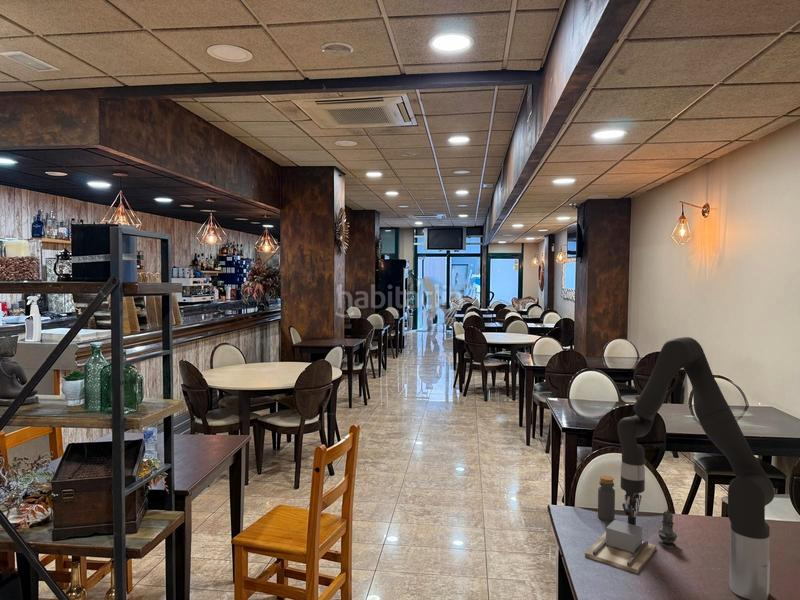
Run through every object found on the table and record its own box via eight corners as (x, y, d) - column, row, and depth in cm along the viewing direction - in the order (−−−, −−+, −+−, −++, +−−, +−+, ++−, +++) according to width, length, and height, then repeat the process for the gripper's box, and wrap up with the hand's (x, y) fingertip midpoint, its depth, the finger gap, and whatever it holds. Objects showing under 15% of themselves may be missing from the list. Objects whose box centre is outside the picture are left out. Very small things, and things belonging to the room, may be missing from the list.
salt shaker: (679, 549, 179) (680, 513, 179) (660, 547, 180) (660, 511, 180) (674, 541, 185) (675, 506, 185) (655, 539, 186) (656, 504, 186)
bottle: (600, 512, 208) (601, 473, 207) (616, 517, 204) (617, 477, 203) (595, 517, 203) (596, 477, 203) (611, 522, 199) (612, 481, 199)
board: (655, 549, 179) (656, 542, 179) (637, 573, 164) (637, 566, 164) (606, 534, 190) (606, 528, 189) (584, 556, 174) (584, 549, 174)
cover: (642, 544, 179) (642, 527, 179) (634, 553, 173) (634, 535, 173) (614, 536, 185) (614, 519, 185) (605, 544, 179) (606, 527, 179)
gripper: (638, 483, 177) (637, 536, 177) (650, 473, 187) (649, 523, 187) (614, 478, 182) (613, 529, 182) (627, 468, 192) (626, 517, 192)
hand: (631, 526), depth 185 cm, fingers closed
